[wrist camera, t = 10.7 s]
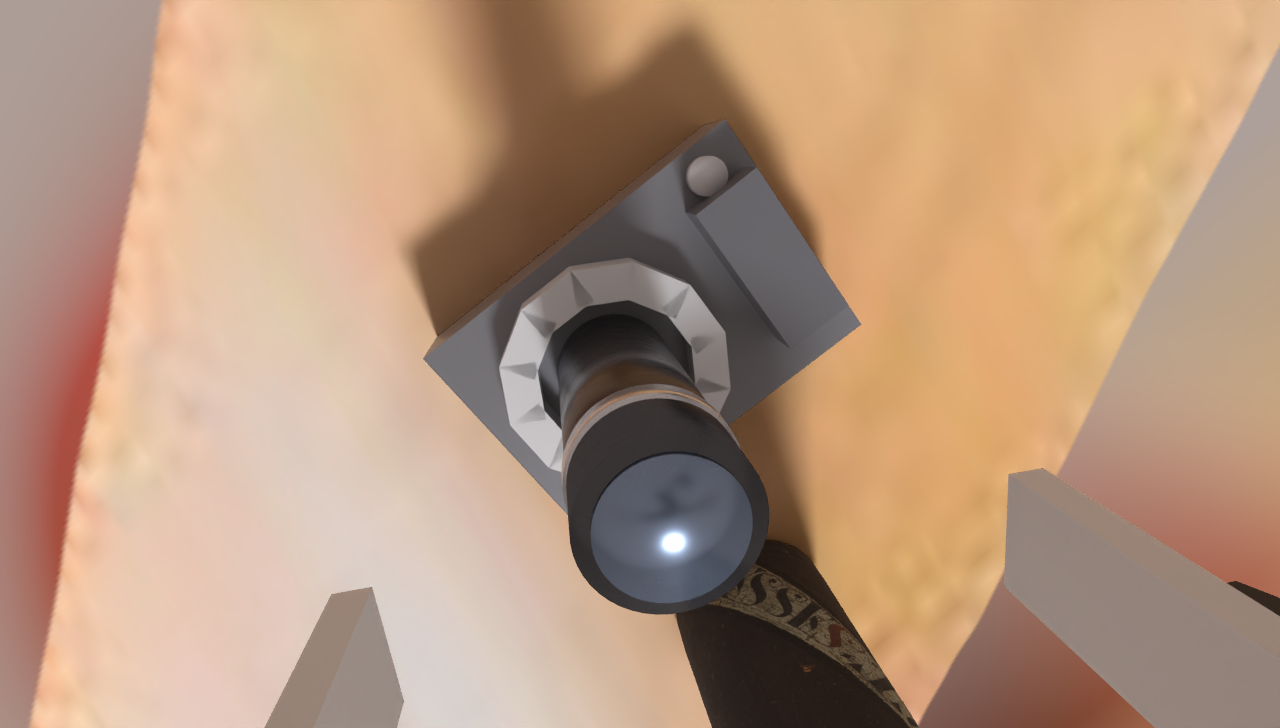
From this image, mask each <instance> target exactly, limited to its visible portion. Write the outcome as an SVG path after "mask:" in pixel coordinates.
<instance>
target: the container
mask: <svg viewBox="0 0 1280 728" xmlns="http://www.w3.org/2000/svg"><path fill="white" fill-rule="evenodd" d="M677 620H678V626H679V630H680V633H681V637H682V641H683V644H684V647H685V651H686V654H687V657H688V660H689V662H690V665H691V668H692V671H693V674H694V676H695V679H696V682H697V685H698V688H699V691H700V694H701V697H702V700H703V703H704V706H705V708H706V711H707V714H708V717H709V720H710V723H711V726H712V728H919V727H918V725H917V723H916V722H915V720H914V719H913V717H912V715H911V714H910V712H909V711H908V709H907V707H906V706H905V704H904V702H903V701H902V700H901V698H900V697H899V696H898V694H897V692H896V691H895V689H894V688H893V686H892V685H891V683H890V682H889V680H888V678H887V677H886V676H885V674H884V673H883V671H882V669H881V668H880V666H879V665H878V663H877V662H876V660H875V659H874V657H873V656H872V654H871V652H870V651H869V649H868V648H867V646H866V645H865V643H864V641H863V640H862V638H861V637H860V635H859V634H858V632H857V630H856V629H855V627H854V626H853V624H852V623H851V621H850V620H849V618H848V616H847V615H846V613H845V612H844V610H843V608H842V607H841V605H840V604H839V602H838V601H837V599H836V597H835V596H834V594H833V593H832V591H831V589H830V588H829V586H828V585H827V583H826V582H825V580H824V578H823V577H822V576H821V574H820V573H819V571H818V570H817V569H816V567H815V566H814V564H813V563H812V561H811V560H810V559H809V558H808V557H807V556H806V555H805V554H804V553H803V552H801V551H800V550H798V549H797V548H795V547H793V546H791V545H788V544H784V543H780V542H776V541H767V540H765V543H764V546H763V548H762V550H761V553H760V555H759V557H758V558H757V560H756V562H755V564H754V565H753V567H752V568H751V569H750V571H749V572H748V573H747V575H746V576H745V577H744V578H743V579H742V580H741V581H740V582H739V583H738V584H737V585H736V586H735V587H733V588H732V589H731V590H730V591H729V592H727V593H726V594H724V595H723V596H721V597H720V598H718V599H717V600H715V601H713V602H711V603H709V604H707V605H704V606H702V607H699V608H696V609H693V610H689V611H685V612H681V613H677Z"/></svg>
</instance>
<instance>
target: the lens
mask: <svg viewBox="0 0 1280 728" xmlns="http://www.w3.org/2000/svg"><path fill="white" fill-rule="evenodd" d="M557 373H558V386H559V400H560V413H561V426H562V440H563V458H562V470H561V473H562V489H563V499H564V503H565V507H566V510H567V513H568V521H569V534H570V544H571V549H572V553H573V556H574V559H575V561H576V564H577V566H578V568H579V570H580V571H581V573H582V575H583V576H584V578H585V579H586V580H587V581H588V583H589V584H590V585H591V586H592V587H593V588H594V589H595V590H596V591H597V592H598V593H599V594H601V595H602V596H603V597H605V598H606V599H608V600H609V601H611V602H613V603H615V604H617V605H619V606H621V607H624V608H626V609H629V610H632V611H637V612H641V613H648V614H674V613H681V612H685V611H689V610H693V609H696V608H699V607H702V606H704V605H707V604H709V603H711V602H713V601H715V600H717V599H718V598H720V597H721V596H723V595H724V594H726V593H727V592H729V591H730V590H731V589H732V588H733V587H735V586H736V585H737V584H738V583H739V582H740V581H741V580H742V579H743V578H744V577H745V576H746V575H747V573H748V572H749V571H750V569H751V568H752V567H753V565H754V564H755V562H756V560H757V558H758V557H759V555H760V553H761V550H762V548H763V546H764V543H765V539H766V536H767V531H768V524H769V506H768V499H767V495H766V492H765V488H764V486H763V483H762V481H761V479H760V477H759V475H758V474H757V472H756V471H755V469H754V468H753V466H752V465H751V463H750V462H749V460H748V459H747V458H746V456H745V455H744V453H743V452H742V451H741V448H740V445H739V443H738V441H737V439H736V437H735V435H734V434H733V432H732V430H731V429H730V427H729V426H728V425H727V423H726V422H725V421H724V419H723V418H722V416H721V415H720V414H719V413H718V412H717V411H716V409H715V408H714V407H713V406H712V405H710V404H709V403H708V402H707V401H706V400H705V398H704V397H703V396H702V394H701V393H700V391H699V390H698V388H697V387H696V386H695V384H694V383H693V381H692V380H691V379H690V377H689V376H688V374H687V373H686V372H685V370H684V369H683V367H682V366H681V365H680V363H679V362H678V360H677V359H676V357H675V356H674V355H673V353H672V352H671V350H670V349H669V348H668V346H667V345H666V343H665V342H664V341H663V339H662V338H661V336H660V335H659V334H658V333H657V332H656V330H655V329H653V328H652V327H651V326H650V325H649V324H647V323H646V322H644V321H642V320H640V319H638V318H636V317H632V316H629V315H624V314H607V315H602V316H598V317H596V318H593V319H591V320H589V321H587V322H585V323H583V324H582V325H580V326H579V327H578V328H577V329H576V330H575V331H573V333H572V334H571V335H570V336H569V337H568V339H567V340H566V342H565V343H564V345H563V347H562V349H561V352H560V355H559V360H558V369H557Z"/></svg>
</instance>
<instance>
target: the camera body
mask: <svg viewBox="0 0 1280 728" xmlns="http://www.w3.org/2000/svg"><path fill="white" fill-rule="evenodd" d="M607 314H624V315H629V316H632V317H636V318H638V319H640V320H642V321H644V322H646V323H647V324H649V325H650V326H651V327H652V328H653V329H655V330H656V332H657V333H658V334H659V335H660V336H661V338H662V339H663V341H664V342H665V343H666V345H667V346H668V348H669V349H670V350H671V352H672V353H673V355H674V356H675V357H676V359H677V360H678V362H679V363H680V365H681V366H682V367H683V369H684V370H685V372H686V373H687V374H688V376H689V377H690V379H691V380H692V381H693V383H694V384H695V386H696V387H697V388H698V390H699V391H700V393H701V394H702V396H703V397H704V398H705V400H706V401H707V402H708V403H709V404H710V405H712V406H713V407H714V408H715V409H716V411H717V412H718V413H719V414H720V415H721V416H722V418H723V419H724V421H725V422H726V423H727V425H730V424H731V423H732V422H733V421H735V420H736V419H737V418H739V417H740V416H741V415H743V414H744V413H745V412H747V411H748V410H749V409H751V408H752V407H753V406H755V405H756V404H757V403H758V402H760V401H761V400H762V399H764V398H765V397H766V396H768V395H769V394H770V393H772V392H773V391H774V390H776V389H777V388H778V387H780V386H781V385H782V384H784V383H785V382H786V381H787V380H789V379H790V378H791V377H793V376H794V375H795V374H797V373H798V372H799V371H801V370H802V369H803V368H805V367H806V366H807V365H809V364H810V363H811V362H812V361H814V360H815V359H816V358H818V357H819V356H820V355H822V354H823V353H824V352H826V351H827V350H828V349H830V348H831V347H832V346H834V345H835V344H836V343H837V342H839V341H840V340H841V339H843V338H844V337H845V336H847V335H848V334H849V333H851V332H852V331H853V330H855V329H856V328H857V327H859V326H860V325H861V323H860V322H859V320H858V319H857V317H856V316H855V314H854V313H853V311H852V310H851V308H850V307H849V305H848V304H847V302H846V301H845V299H844V298H843V296H842V295H841V293H840V292H839V290H838V289H837V287H836V286H835V284H834V283H833V281H832V280H831V278H830V277H829V275H828V273H827V272H826V270H825V269H824V267H823V266H822V264H821V263H820V261H819V260H818V258H817V257H816V255H815V254H814V252H813V251H812V249H811V248H810V246H809V245H808V243H807V242H806V240H805V239H804V237H803V236H802V234H801V233H800V231H799V230H798V228H797V227H796V225H795V224H794V222H793V221H792V219H791V218H790V216H789V215H788V213H787V212H786V210H785V209H784V207H783V206H782V204H781V203H780V201H779V199H778V198H777V196H776V195H775V193H774V192H773V190H772V189H771V187H770V186H769V184H768V183H767V181H766V180H765V178H764V177H763V175H762V174H761V172H760V171H759V169H758V168H757V166H756V165H755V163H754V162H753V160H752V159H751V157H750V156H749V154H748V153H747V151H746V150H745V148H744V147H743V145H742V144H741V142H740V141H739V139H738V138H737V136H736V135H735V133H734V132H733V130H732V129H731V127H730V125H729V124H728V122H727V121H726V119H724V120H720V121H717V122H713V123H710V124H706V125H703V126H702V127H701V128H699V129H698V130H697V131H695V132H694V133H693V134H692V135H690V136H689V137H688V138H687V139H685V140H684V141H683V142H682V143H680V144H679V145H678V146H677V147H675V148H674V149H673V150H672V151H670V152H669V153H668V154H667V155H665V156H664V157H663V158H662V159H660V160H659V161H658V162H656V163H655V164H654V165H653V166H651V167H650V168H649V169H648V170H646V171H645V172H644V173H643V174H641V175H640V176H639V177H638V178H636V179H635V180H634V181H633V182H631V183H630V184H629V185H628V186H626V187H625V188H624V189H623V190H621V191H620V192H619V193H617V194H616V195H615V196H614V197H612V198H611V199H610V200H609V201H607V202H606V203H605V204H604V205H602V206H601V207H600V208H599V209H597V210H596V211H595V212H594V213H592V214H591V215H590V216H589V217H587V218H586V219H585V220H584V221H582V222H581V223H580V224H578V225H577V226H576V227H575V228H573V229H572V230H571V231H570V232H568V233H567V234H566V235H565V236H563V237H562V238H561V239H560V240H558V241H557V242H556V243H555V244H553V245H552V246H551V247H550V248H548V249H547V250H546V251H545V252H543V253H542V254H541V255H539V256H538V257H537V258H536V259H534V260H533V261H532V262H531V263H529V264H528V265H527V266H526V267H524V268H523V269H522V270H521V271H519V272H518V273H517V274H516V275H514V276H513V277H512V278H511V279H509V280H508V281H507V282H505V283H504V284H503V285H502V286H500V287H499V288H498V289H497V290H495V291H494V292H493V293H492V294H490V295H489V296H488V297H487V298H485V299H484V300H483V301H482V302H480V303H479V304H478V305H477V306H475V307H474V308H473V309H472V310H470V311H469V312H468V313H466V314H465V315H464V316H463V317H461V318H460V319H459V320H458V321H456V322H455V323H454V324H453V325H451V326H450V327H449V328H448V329H446V330H445V331H444V332H443V333H441V334H440V335H439V336H438V337H437V338H436V339H435V341H434V342H433V344H432V346H431V347H430V349H429V350H428V352H427V354H426V355H425V357H424V358H423V359H424V360H425V361H426V362H427V364H428V365H429V366H430V367H431V368H432V369H433V370H434V371H435V372H436V373H437V374H438V375H439V376H440V378H441V379H442V380H443V381H444V382H445V383H446V384H447V385H448V386H449V387H450V388H451V389H452V391H453V392H454V393H455V394H456V395H457V396H458V397H459V398H460V399H461V400H462V401H463V402H464V403H465V405H466V406H467V407H468V408H469V409H470V410H471V411H472V412H473V413H474V414H475V415H476V416H477V418H478V419H479V420H480V421H481V422H482V423H483V424H484V425H485V426H486V427H487V428H488V429H489V430H490V432H491V433H492V434H493V435H494V436H495V437H496V438H497V439H498V440H499V441H500V442H501V443H502V445H503V446H504V447H505V448H506V449H507V450H508V451H509V452H510V453H511V454H512V455H513V456H514V457H515V459H516V460H517V461H518V462H519V463H520V464H521V465H522V466H523V467H524V468H525V469H526V470H527V472H528V473H529V474H530V475H531V476H532V477H533V478H534V479H535V480H536V481H537V482H538V483H539V484H540V486H541V487H542V488H543V489H544V490H545V491H546V492H547V493H548V494H549V495H550V496H551V497H552V499H553V500H554V501H555V502H556V503H557V504H558V505H559V506H560V507H561V508H562V509H563V510H564V511H565V513H566V514H567V515H568V513H567V510H566V507H565V503H564V499H563V489H562V473H561V470H562V458H563V440H562V426H561V413H560V400H559V386H558V373H557V369H558V360H559V355H560V352H561V349H562V347H563V345H564V343H565V342H566V340H567V339H568V337H569V336H570V335H571V334H572V333H573V331H575V330H576V329H577V328H578V327H579V326H580V325H582V324H583V323H585V322H587V321H589V320H591V319H593V318H596V317H598V316H602V315H607Z"/></svg>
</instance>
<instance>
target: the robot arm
mask: <svg viewBox="0 0 1280 728" xmlns="http://www.w3.org/2000/svg"><path fill="white" fill-rule="evenodd" d="M1004 586H1005V587H1006V588H1007V589H1008V590H1009V591H1010V592H1011V593H1012V594H1013V595H1014V596H1015V597H1016V598H1017V599H1018V600H1019V601H1021V602H1022V603H1023V604H1024V605H1025V606H1026V607H1027V608H1028V609H1029V610H1030V611H1031V612H1032V613H1033V614H1034V615H1035V616H1036V617H1038V618H1039V619H1040V620H1041V621H1042V622H1043V623H1044V624H1045V625H1046V626H1047V627H1048V628H1049V629H1050V630H1051V631H1052V632H1054V633H1055V634H1056V635H1057V636H1058V637H1059V638H1060V639H1061V640H1062V641H1063V642H1064V643H1065V644H1066V645H1068V647H1070V648H1071V649H1072V650H1073V651H1074V652H1075V653H1076V654H1077V655H1078V656H1079V657H1080V658H1081V659H1082V660H1083V661H1084V662H1085V663H1087V664H1088V665H1089V666H1090V667H1091V668H1092V669H1093V670H1094V671H1095V672H1096V673H1097V674H1098V675H1100V676H1101V678H1103V679H1104V680H1105V681H1106V682H1107V683H1108V684H1109V685H1110V686H1111V687H1112V688H1113V689H1114V690H1115V691H1116V692H1117V693H1119V694H1120V695H1121V696H1122V697H1123V698H1124V699H1125V700H1126V701H1127V702H1128V703H1129V704H1130V705H1131V706H1132V707H1133V708H1134V709H1136V710H1137V711H1138V712H1139V713H1140V714H1141V715H1142V716H1143V717H1144V718H1145V719H1146V720H1147V721H1148V722H1149V723H1151V724H1152V725H1153V726H1154V727H1155V728H1280V598H1278V597H1276V596H1273V595H1271V594H1268V593H1265V592H1263V591H1260V590H1258V589H1255V588H1253V587H1250V586H1248V585H1245V584H1242V583H1240V582H1237V581H1234V582H1229V583H1226V582H1224V581H1222V580H1221V579H1219V578H1218V577H1216V576H1214V575H1213V574H1211V573H1210V572H1208V571H1206V570H1205V569H1203V568H1202V567H1200V566H1198V565H1197V564H1195V563H1194V562H1192V561H1191V560H1189V559H1187V558H1186V557H1184V556H1182V555H1181V554H1179V553H1178V552H1176V551H1175V550H1173V549H1171V548H1170V547H1168V546H1166V545H1165V544H1163V543H1162V542H1160V541H1159V540H1157V539H1155V538H1154V537H1152V536H1151V535H1149V534H1147V533H1146V532H1144V531H1143V530H1141V529H1139V528H1137V527H1136V526H1134V525H1133V524H1131V523H1130V522H1128V521H1126V520H1125V519H1123V518H1122V517H1120V516H1119V515H1117V514H1115V513H1114V512H1112V511H1110V510H1109V509H1107V508H1106V507H1104V506H1103V505H1101V504H1099V503H1098V502H1096V501H1095V500H1093V499H1091V498H1090V497H1088V496H1087V495H1085V494H1083V493H1082V492H1080V491H1079V490H1077V489H1075V488H1074V487H1072V486H1070V485H1069V484H1067V483H1066V482H1064V481H1063V480H1061V479H1059V478H1058V477H1056V476H1055V475H1053V474H1051V473H1050V472H1048V471H1047V470H1045V469H1043V468H1041V469H1035V470H1030V471H1024V472H1018V473H1013V474H1009V479H1008V504H1007V529H1006V554H1005V579H1004ZM403 703H404V700H403V696H402V693H401V689H400V685H399V682H398V678H397V675H396V671H395V668H394V664H393V660H392V657H391V653H390V650H389V646H388V643H387V639H386V635H385V632H384V628H383V625H382V621H381V617H380V614H379V610H378V607H377V603H376V600H375V596H374V592H373V589H372V587H369V588H364V589H358V590H352V591H347V592H341V593H336V594H331V596H330V598H329V600H328V602H327V604H326V606H325V608H324V610H323V612H322V614H321V616H320V618H319V620H318V622H317V624H316V626H315V628H314V630H313V632H312V634H311V636H310V638H309V640H308V642H307V644H306V646H305V648H304V650H303V652H302V654H301V656H300V658H299V660H298V662H297V664H296V666H295V668H294V670H293V672H292V674H291V676H290V678H289V680H288V682H287V684H286V686H285V688H284V690H283V692H282V694H281V696H280V698H279V700H278V702H277V704H276V706H275V708H274V710H273V712H272V714H271V716H270V718H269V720H268V722H267V724H266V726H265V728H397V725H398V721H399V717H400V714H401V710H402V706H403Z"/></svg>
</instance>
